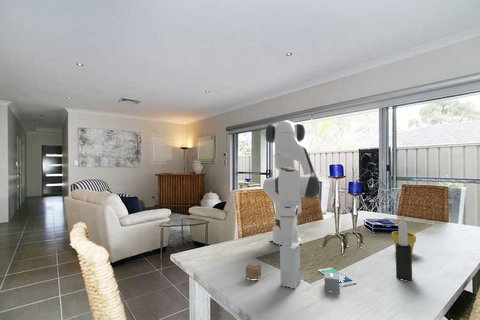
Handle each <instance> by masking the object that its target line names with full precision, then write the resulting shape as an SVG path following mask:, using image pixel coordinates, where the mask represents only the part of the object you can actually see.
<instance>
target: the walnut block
mask: <svg viewBox="0 0 480 320" xmlns="http://www.w3.org/2000/svg"><path fill="white" fill-rule="evenodd" d="M260 275H261V276H262V264H261V263H255V262H249V263H248V264H247V265H246V266H245V279H246V278H249V279H257V280H258V279H259V277H260ZM260 278H261V277H260ZM259 280H260V279H259Z"/></svg>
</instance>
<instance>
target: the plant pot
mask: <svg viewBox="0 0 480 320" xmlns="http://www.w3.org/2000/svg"><path fill="white" fill-rule="evenodd" d="M416 236H417V235H416V234H415V233H412V232H409V231H407V237H408V244H409V245H410V246H411V252H412V253H413V251H414V245H415V243H416V242H417V241H416V240H417V237H416ZM391 239H392V240H393V242H394V246H395V247H394V248H396V244H397V243H399V230H397V231H392V232H391Z"/></svg>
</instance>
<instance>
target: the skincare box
mask: <svg viewBox="0 0 480 320" xmlns="http://www.w3.org/2000/svg"><path fill="white" fill-rule="evenodd" d="M279 260H280V261H279V264H280V265H279V268H280V272H279V273H280V274H279V276H280V286H281V285H284V286H283V287H285V286H287V287H286V288H288V287H292V288H295V289H296V288H297V286H298V285H299V283H300V282H301V281H302V273H301V246H300V244H299V243H292V244H291V245H290V244H287V242H286V243H285V244H283V245H282V246H279ZM300 280H301V281H300ZM297 284H298V285H297ZM292 288H291V289H292Z"/></svg>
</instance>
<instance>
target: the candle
mask: <svg viewBox="0 0 480 320" xmlns="http://www.w3.org/2000/svg"><path fill="white" fill-rule="evenodd" d="M400 217H401V218H400V222H398V231H399V243H397V244H396V247H395V276H396V277H395V278H396V279H397V278H398V279H397V280H400V279H403V280H402V281H404V280H407V281H406V282H408V281H411V282H412V279H413V264H412V263H413V261H412V259H413V255H412V254H413V251H412V252H411V246H410V245H409V244H408V237H407V232H408V223H407V222H406V221H405V216H404V215H401V216H400Z"/></svg>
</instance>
